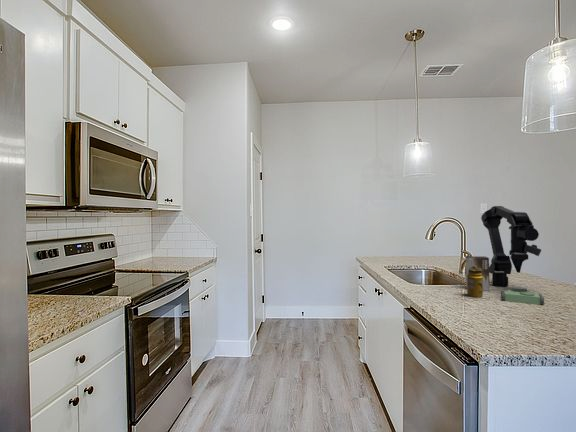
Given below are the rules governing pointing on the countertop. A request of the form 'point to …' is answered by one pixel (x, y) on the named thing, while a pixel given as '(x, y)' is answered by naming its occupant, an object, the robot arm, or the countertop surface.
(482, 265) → the coffee box
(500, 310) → the countertop surface
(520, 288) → the stepped grey block
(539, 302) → the green toy cart
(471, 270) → the condiment
